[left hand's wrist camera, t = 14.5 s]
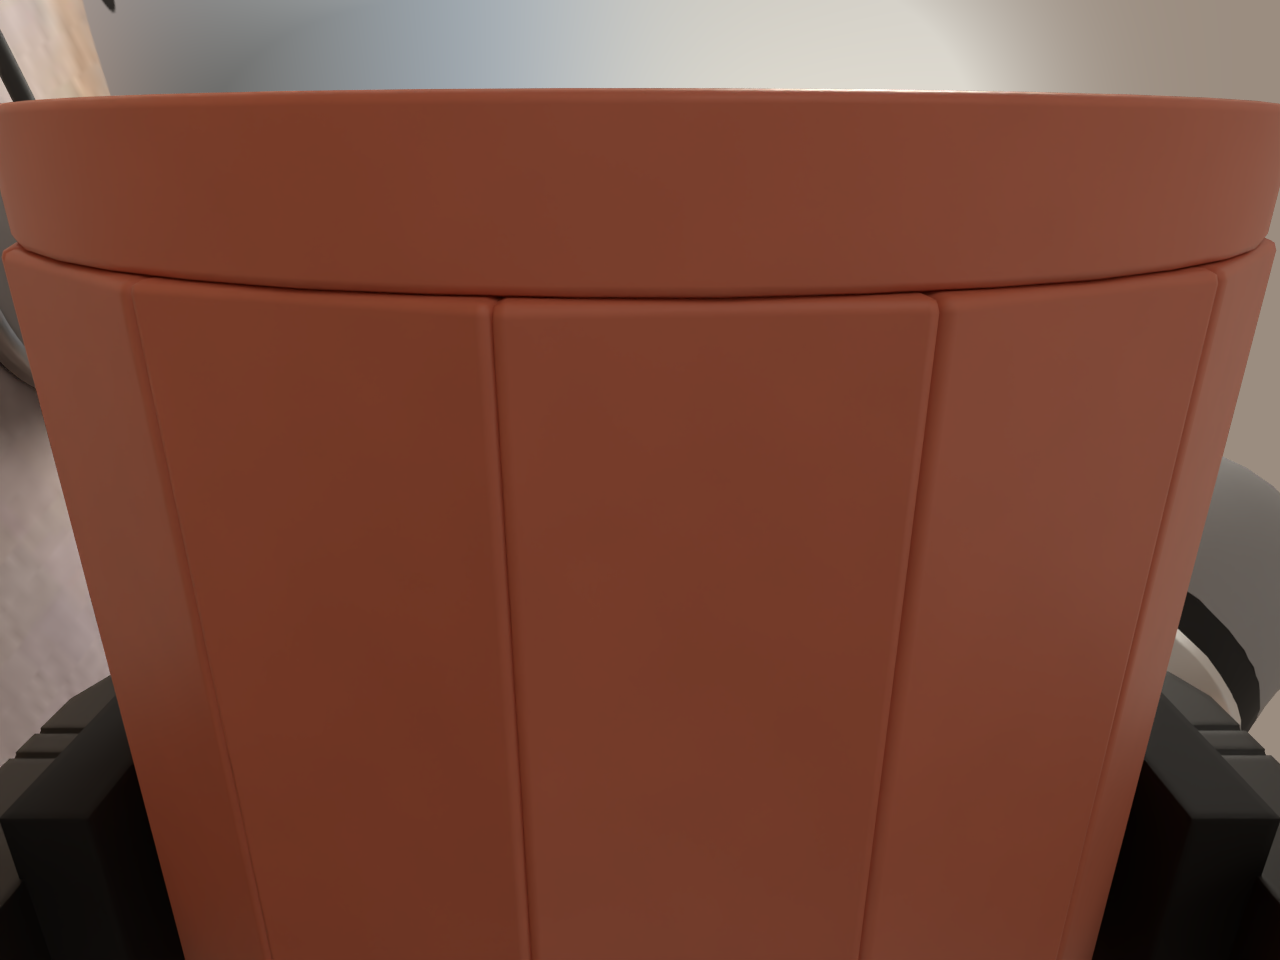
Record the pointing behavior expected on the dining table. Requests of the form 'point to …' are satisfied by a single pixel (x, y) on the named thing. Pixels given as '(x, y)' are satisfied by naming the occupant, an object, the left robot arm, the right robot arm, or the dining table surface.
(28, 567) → the dining table surface
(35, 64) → the dining table surface
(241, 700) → the terracotta flower pot
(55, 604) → the dining table surface
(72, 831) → the left robot arm
